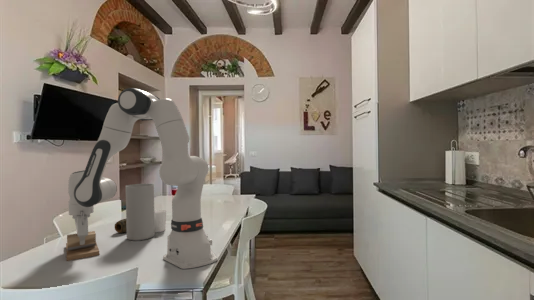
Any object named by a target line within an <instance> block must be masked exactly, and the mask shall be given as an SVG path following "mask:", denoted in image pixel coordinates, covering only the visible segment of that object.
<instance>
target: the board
mask: <svg viewBox="0 0 534 300" xmlns="http://www.w3.org/2000/svg"><path fill="white" fill-rule="evenodd" d="M65 248H66V262H70V261H73V260H79V259H83V258H84V259H85V258H89V257H95V256H100V249H99V246H98V244H97V242H96V246H90V247H84V248H78V249H72V250H67V242H66V243H65Z"/></svg>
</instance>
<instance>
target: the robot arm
mask: <svg viewBox="0 0 534 300" xmlns="http://www.w3.org/2000/svg"><path fill="white" fill-rule="evenodd" d="M138 120H140V121H141V122H143V121H153V123H154V126H155V130H156V132H157V133H156V134H157V135H158V138H159V142H160V145H161V149H162V150H161V151H162V163H161V165H160V166H159V170H158V171H159V177H160V180H161V181H162V182H163V183H164V185H165V184H166V185H168V186H173V187H177V188H176V191H175V194H174V195H173V198H172V200H171V217H172V218H171V221H170V229H171V231H170V233H169V234H168V236H167V245H166V246H167V247H166V254H164V255H163V258H162V259H163V260H164V261H166V262H167V263H170V264H172V265H173V266H175V267H178V268H180V269H182V270H183V269H193V268H199V267H204V266H207V265H211V264H212V263H215V262H217V261H218V257H217V256H216V254H215V253H214V251H213V250H212V249H211V246H213V239H209V236H208V234H206V232H205V230H204V222H203V217H202V206H201V205H202V203H201V202H202V201H201V200H202V193H203V188H204V184H205V179H206V177H207V175H208V173H209V170H210V169H209V164H208V162H207V161H206V160H205V159H204V158H202V157H199V156H197V155H190V153H189V145H188V144H189V143H190V136H189V133H188V130H187V127H186V124H185V121H184V118H183V116H182V114H181V112H180V110H179V108H178V106H177V104H176V103H175V101H173V100H172V99H171V98H159V97H158V96H157V95H153V94H152V93H150V92H147V91H145V90H143V89H140V88H135V87H128V88H125V89H123V90H122V91H121V92H120V93H119V95H118V98H117V102H116V103H112V104H111V106H110V107H109V108H108V112H107V113H106V116H105V119H104V121H103V125H102V129H101V131H100V134H99V137H98V138H97V141H96V143H95V144H94V146H93V148H92V150H91V153H90V156H89V158H88V161H87V164H86V166H85V169H84V170H78V171H73V172H72V173H71V174H70V175H69V177H68V190H67V191H68V192H67V194H68V195H69V199H68V215H69V216H72V219H73V220H74V223H75V230H76V234H77V236H78V237H79V239H80V245H84V244H85V236H87V235H88V232H89V219H88V218H90V217H91V214H93V213H94V206H96V205H97V204H99V203H103V202H105V201H108V200H110V199H113V197H115V195H116V194H117V191H118V188H117V184H116V182H115V180H113V179H112V178H109V177H106V176H105V177H104V175H103V174H104V172H105V169H106V166H107V164H108V162H109V160H110V159H111V158H112V157H113V156H115V155H116V154H117V153H119V152H121V151H123V150H124V149H125V148H127V146H128V144H129V143H130V140H131V137H132V133H133V130H134V125H135V124H136V122H137V121H138Z"/></svg>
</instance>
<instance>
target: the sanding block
mask: <svg viewBox="0 0 534 300" xmlns="http://www.w3.org/2000/svg"><path fill="white" fill-rule="evenodd" d="M96 233H97V232H96V231H95V230H93V231H92V230H91V231H88V235H87V236H85V244H84V245H80V239H79V237H78V236H77V233H71V234H66V243H67V250H72V249H78V248H84V247H90V246H96V243H97V239H96V238H97V234H96Z"/></svg>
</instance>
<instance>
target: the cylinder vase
mask: <svg viewBox="0 0 534 300" xmlns="http://www.w3.org/2000/svg"><path fill="white" fill-rule="evenodd" d="M154 210H155V184H153V183H136V184H135V183H134V184H128V185H127V184H126V185H125V219H126V228H127V232H126V238H127V240H128V241H144V240H148V239H151V238H153V237H154V236H155V234H156V232H155V218H154Z"/></svg>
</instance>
